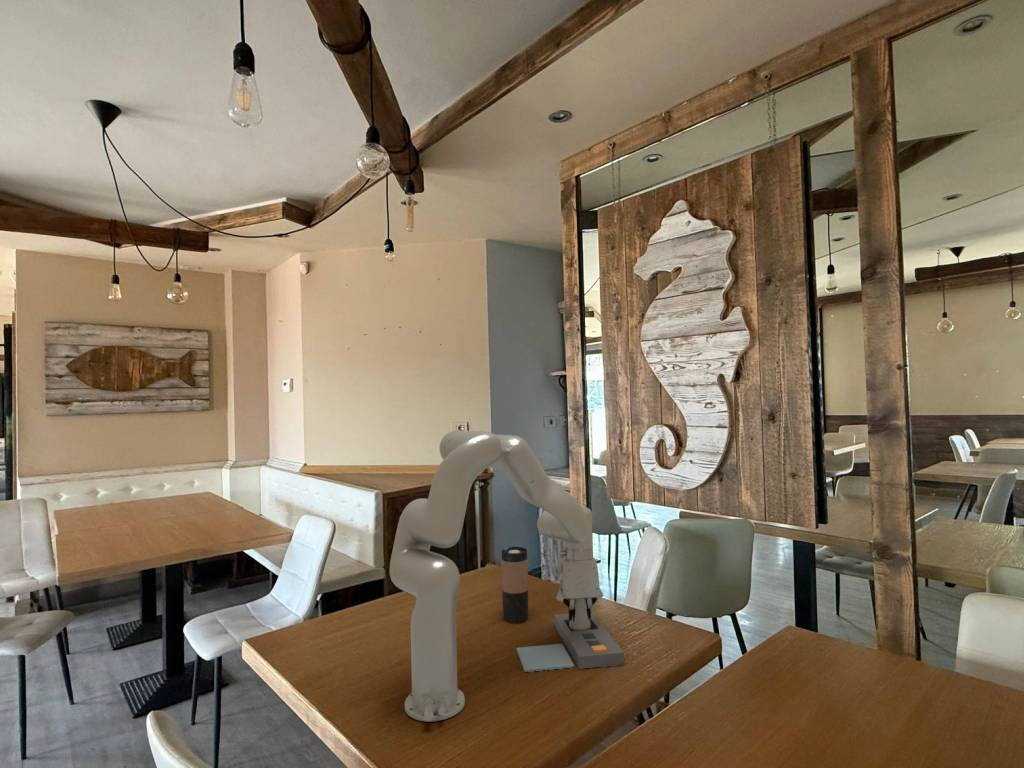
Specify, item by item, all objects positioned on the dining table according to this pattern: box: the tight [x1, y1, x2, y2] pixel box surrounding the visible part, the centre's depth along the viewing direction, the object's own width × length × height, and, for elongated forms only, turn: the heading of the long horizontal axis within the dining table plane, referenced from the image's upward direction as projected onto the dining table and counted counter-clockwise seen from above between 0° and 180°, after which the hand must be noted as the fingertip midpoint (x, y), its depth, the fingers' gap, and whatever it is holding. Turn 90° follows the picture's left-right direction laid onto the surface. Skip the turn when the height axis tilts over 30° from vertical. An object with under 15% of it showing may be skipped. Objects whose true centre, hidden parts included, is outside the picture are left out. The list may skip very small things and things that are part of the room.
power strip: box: [553, 611, 625, 670], centre depth 145 cm, size 26×11×4 cm, turn 9°
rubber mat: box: [515, 643, 575, 673], centre depth 137 cm, size 12×12×1 cm
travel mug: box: [501, 546, 529, 625], centre depth 163 cm, size 8×8×20 cm
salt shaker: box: [569, 598, 591, 631], centre depth 150 cm, size 6×6×13 cm
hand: (579, 621), depth 150 cm, fingers closed on salt shaker, 3 cm apart
